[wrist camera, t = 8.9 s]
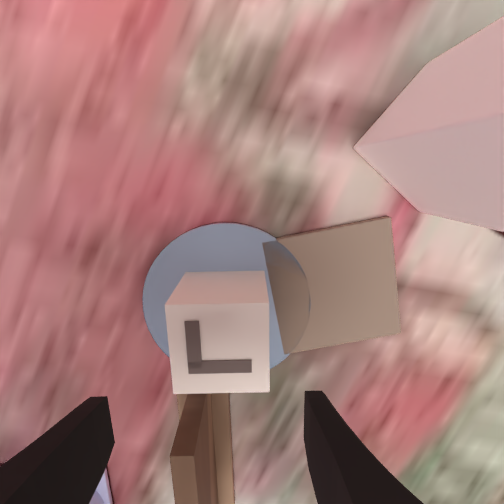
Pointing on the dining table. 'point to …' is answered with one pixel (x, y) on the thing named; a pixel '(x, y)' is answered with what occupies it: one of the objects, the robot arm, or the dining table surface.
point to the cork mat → (336, 285)
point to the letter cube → (219, 333)
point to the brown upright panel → (203, 450)
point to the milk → (448, 134)
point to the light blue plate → (211, 260)
